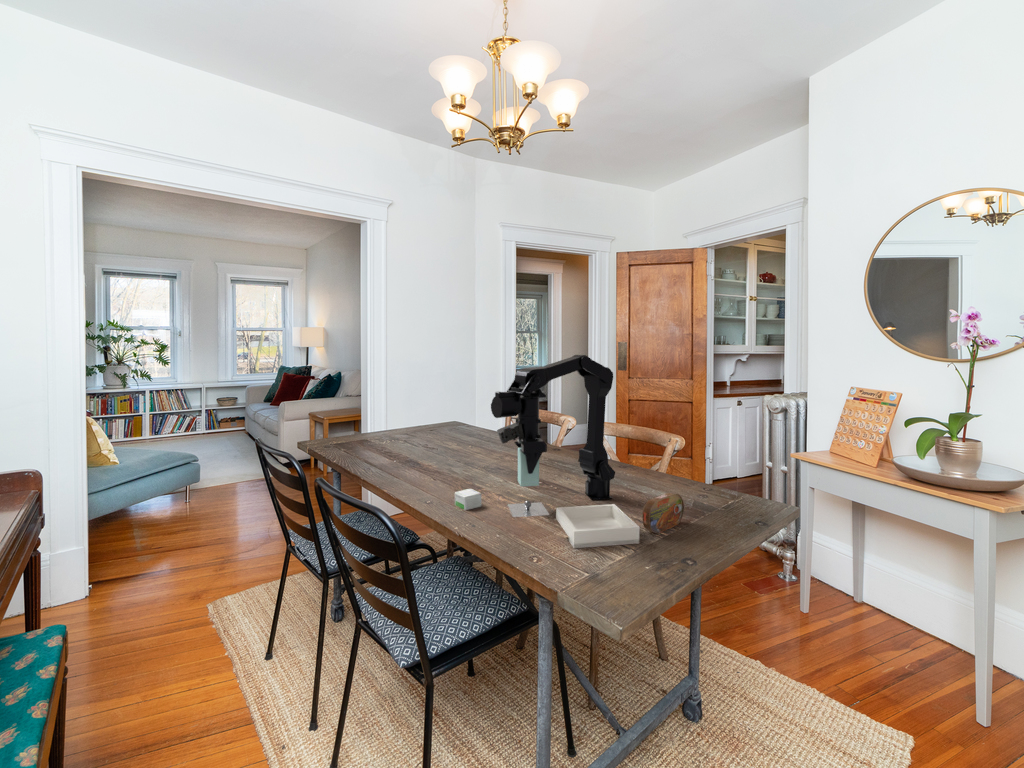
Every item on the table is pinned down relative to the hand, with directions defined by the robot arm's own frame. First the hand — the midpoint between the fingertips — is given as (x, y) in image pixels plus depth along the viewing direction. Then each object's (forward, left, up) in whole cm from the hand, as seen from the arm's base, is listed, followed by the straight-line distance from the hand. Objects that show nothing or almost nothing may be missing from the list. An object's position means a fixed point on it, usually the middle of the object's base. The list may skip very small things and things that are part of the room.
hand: (528, 470), depth 134 cm
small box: (+16, -6, -12) cm, 21 cm away
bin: (-14, +16, -12) cm, 24 cm away
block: (0, 0, -4) cm, 4 cm away
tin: (-32, +16, -12) cm, 38 cm away
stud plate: (0, 0, -12) cm, 12 cm away
